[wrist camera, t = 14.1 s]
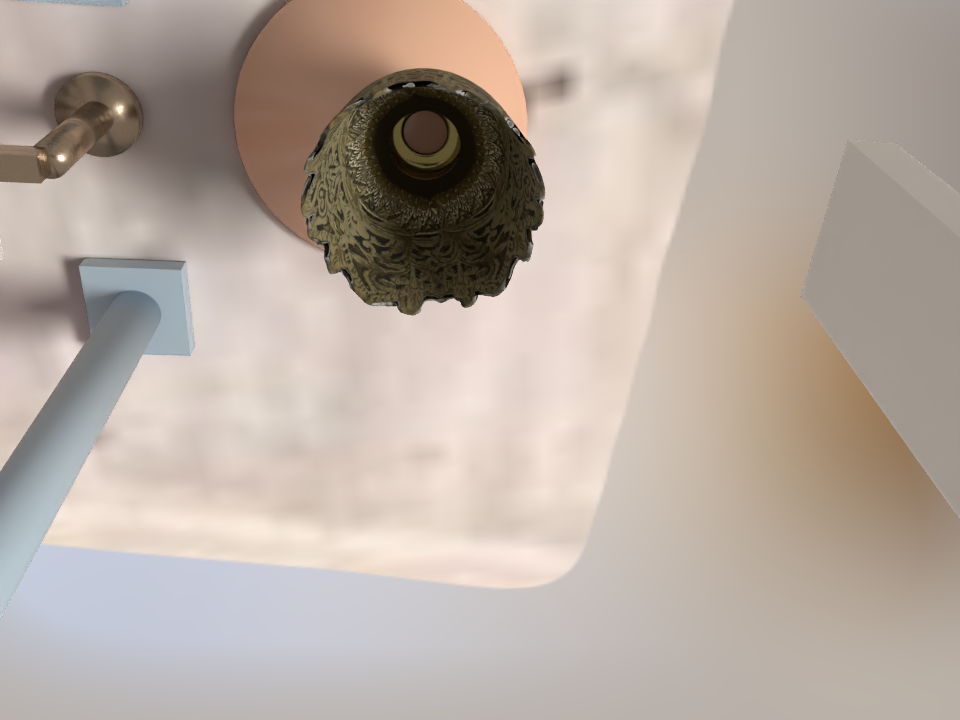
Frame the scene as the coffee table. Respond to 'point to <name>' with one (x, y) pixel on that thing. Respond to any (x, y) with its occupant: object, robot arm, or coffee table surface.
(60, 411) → the gate
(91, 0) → the gate
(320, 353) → the coffee table surface
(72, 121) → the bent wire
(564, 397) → the coffee table surface
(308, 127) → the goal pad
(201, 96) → the coffee table surface
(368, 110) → the ornate lamp shade
